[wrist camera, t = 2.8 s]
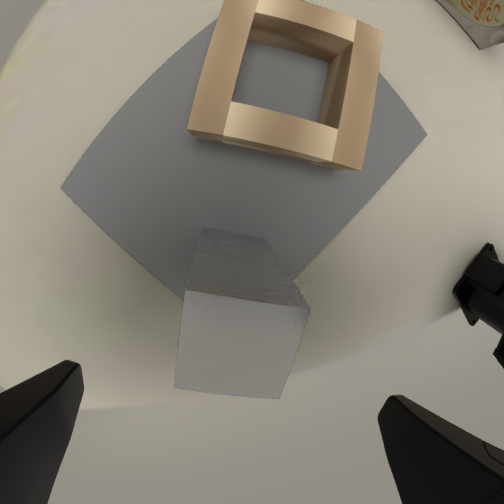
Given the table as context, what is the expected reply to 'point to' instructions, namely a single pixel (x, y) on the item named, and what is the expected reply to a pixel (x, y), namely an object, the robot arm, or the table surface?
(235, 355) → the steel pin
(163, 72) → the rubber mat
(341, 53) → the wooden square frame
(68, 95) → the table surface
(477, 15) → the coffee box
